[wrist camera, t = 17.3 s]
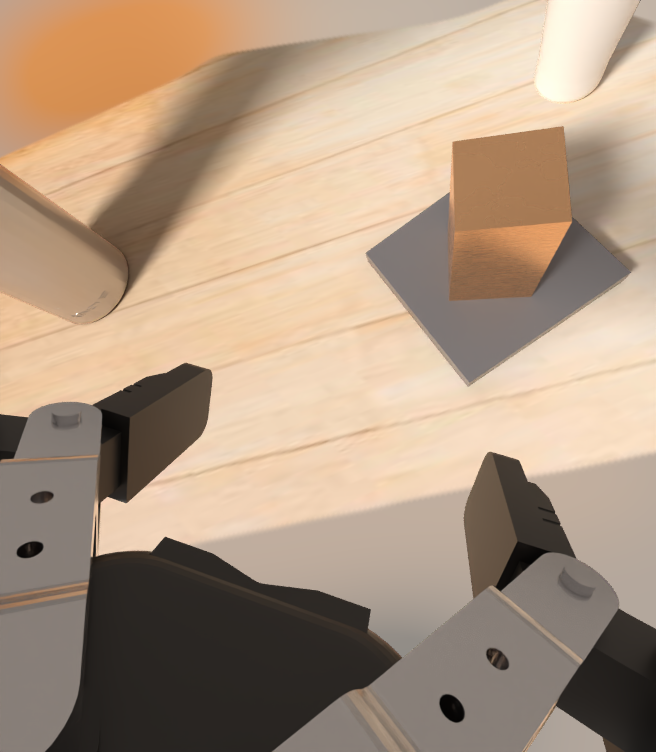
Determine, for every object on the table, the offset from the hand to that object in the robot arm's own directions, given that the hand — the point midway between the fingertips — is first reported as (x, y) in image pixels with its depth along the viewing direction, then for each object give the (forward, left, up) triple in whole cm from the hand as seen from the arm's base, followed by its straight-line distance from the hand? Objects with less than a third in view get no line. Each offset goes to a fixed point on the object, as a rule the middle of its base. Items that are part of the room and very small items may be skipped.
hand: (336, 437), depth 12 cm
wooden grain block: (-9, +15, -21) cm, 27 cm away
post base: (-9, +15, -22) cm, 28 cm away
